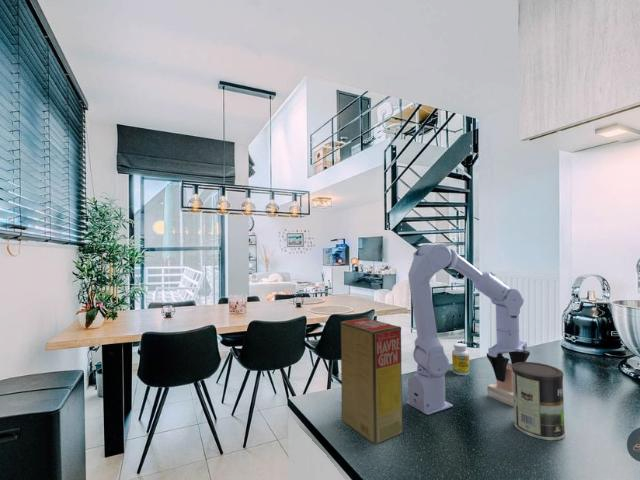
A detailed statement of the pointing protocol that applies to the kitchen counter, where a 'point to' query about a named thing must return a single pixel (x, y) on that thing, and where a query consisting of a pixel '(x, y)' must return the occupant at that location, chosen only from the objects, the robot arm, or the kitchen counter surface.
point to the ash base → (500, 394)
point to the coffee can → (538, 400)
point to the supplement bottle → (460, 359)
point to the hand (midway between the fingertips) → (509, 377)
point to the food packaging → (371, 378)
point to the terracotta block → (507, 379)
